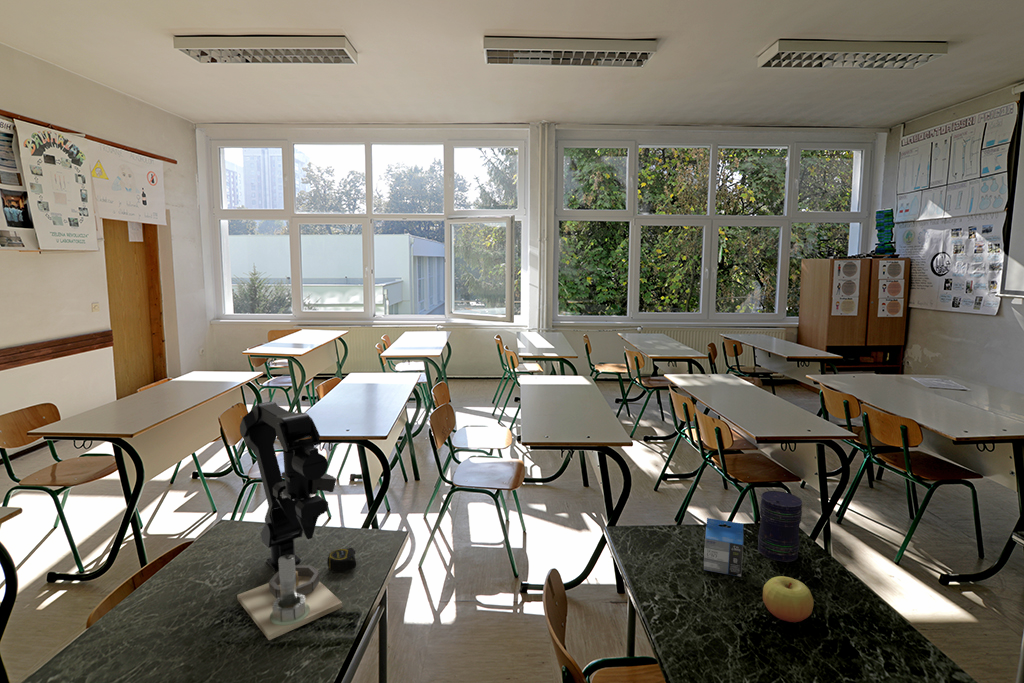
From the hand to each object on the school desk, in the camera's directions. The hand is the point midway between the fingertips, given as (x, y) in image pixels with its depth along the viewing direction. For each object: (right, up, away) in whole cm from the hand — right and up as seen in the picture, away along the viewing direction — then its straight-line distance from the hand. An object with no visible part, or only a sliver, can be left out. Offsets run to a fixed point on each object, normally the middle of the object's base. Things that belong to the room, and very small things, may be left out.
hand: (301, 531), depth 132 cm
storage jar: (+120, -11, +16) cm, 122 cm away
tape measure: (+7, -12, +9) cm, 17 cm away
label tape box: (+102, -12, +8) cm, 103 cm away
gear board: (-1, -14, -6) cm, 15 cm away
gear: (+2, -13, -12) cm, 18 cm away
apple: (+109, -15, -10) cm, 111 cm away
